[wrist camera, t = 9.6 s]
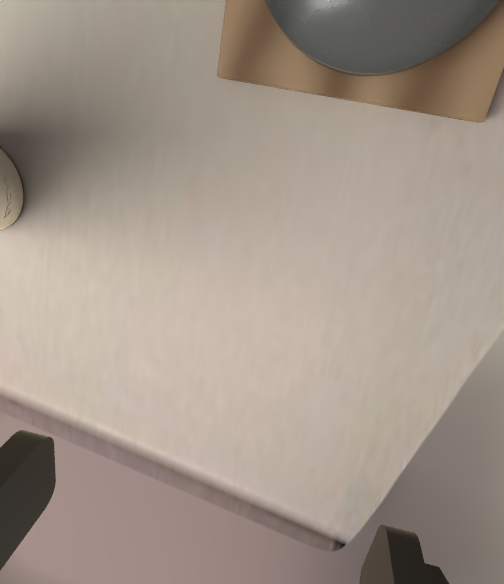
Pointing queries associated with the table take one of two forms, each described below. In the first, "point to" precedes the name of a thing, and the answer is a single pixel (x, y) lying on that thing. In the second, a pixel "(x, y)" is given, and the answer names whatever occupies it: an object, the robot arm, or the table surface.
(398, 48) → the crank turntable
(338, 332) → the table surface
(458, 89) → the stand base
